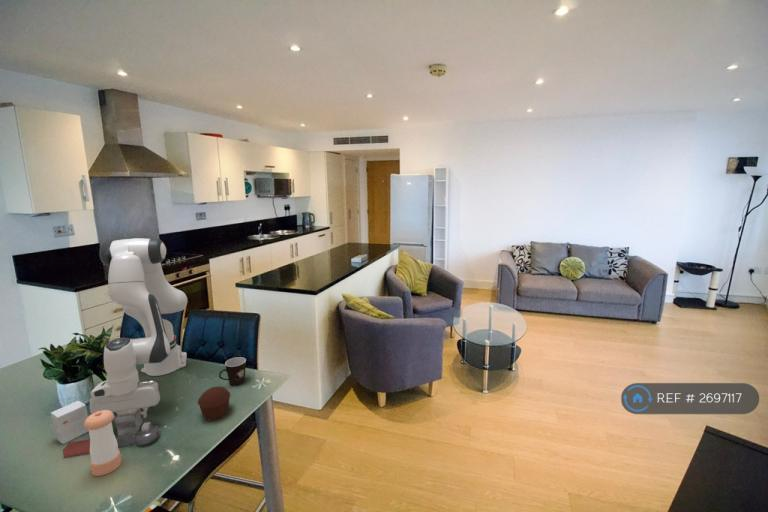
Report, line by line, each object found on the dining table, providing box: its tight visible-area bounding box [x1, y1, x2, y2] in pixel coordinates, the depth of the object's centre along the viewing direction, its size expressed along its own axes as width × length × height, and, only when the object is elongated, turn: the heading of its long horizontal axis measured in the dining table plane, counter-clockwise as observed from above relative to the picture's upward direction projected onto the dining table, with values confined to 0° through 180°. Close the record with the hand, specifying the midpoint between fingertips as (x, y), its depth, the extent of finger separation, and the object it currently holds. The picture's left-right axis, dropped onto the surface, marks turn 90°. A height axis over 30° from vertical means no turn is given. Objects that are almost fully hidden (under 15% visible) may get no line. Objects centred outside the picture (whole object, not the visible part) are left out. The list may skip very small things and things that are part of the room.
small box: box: [50, 400, 89, 445], centre depth 119 cm, size 8×6×10 cm
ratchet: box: [62, 421, 161, 459], centre depth 115 cm, size 7×26×6 cm, turn 107°
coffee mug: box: [218, 356, 247, 387], centre depth 152 cm, size 12×9×10 cm
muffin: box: [197, 385, 231, 421], centre depth 131 cm, size 12×11×10 cm
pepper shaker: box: [84, 410, 123, 477], centre depth 104 cm, size 7×7×19 cm
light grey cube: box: [115, 408, 143, 436], centre depth 122 cm, size 6×6×7 cm
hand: (128, 419), depth 122 cm, fingers open, 8 cm apart
